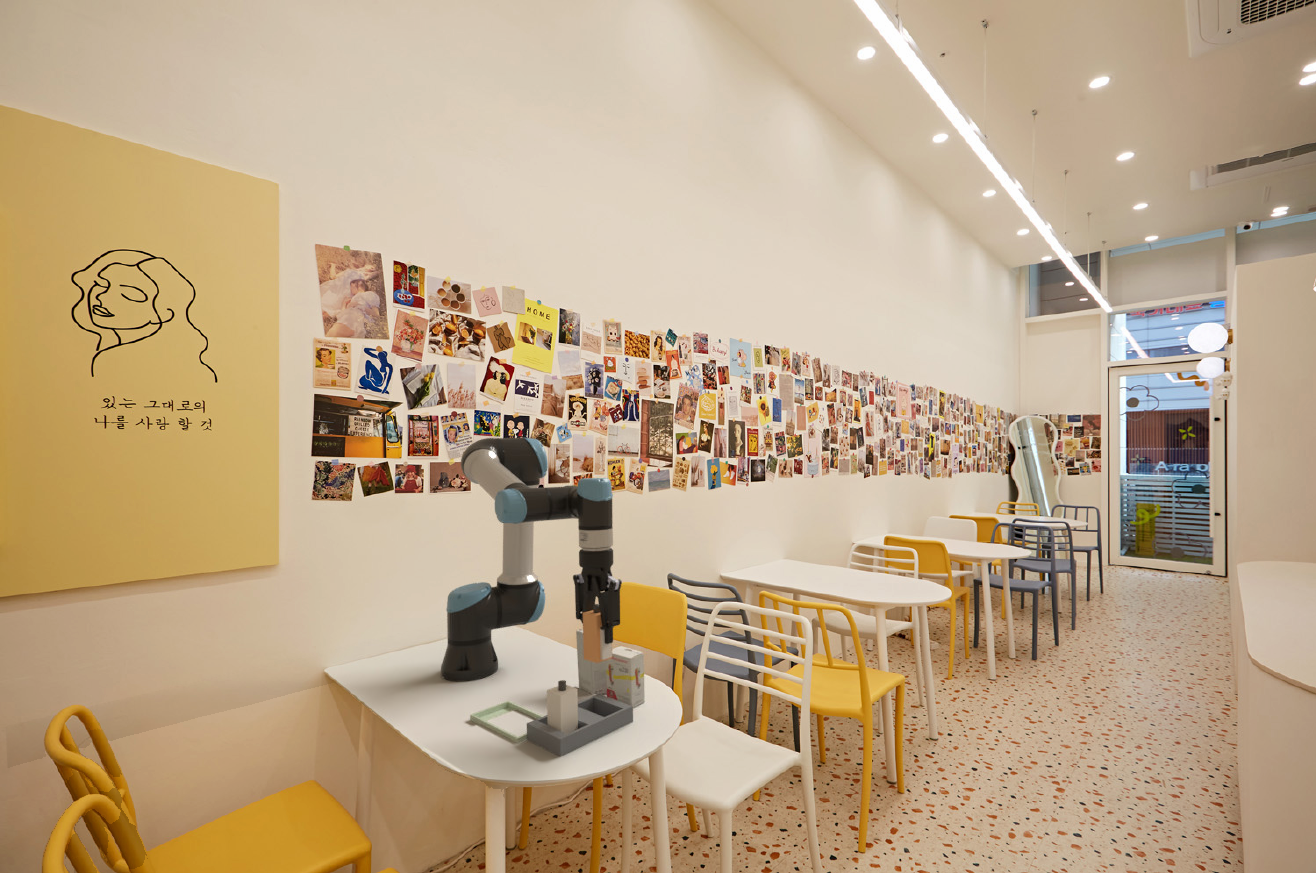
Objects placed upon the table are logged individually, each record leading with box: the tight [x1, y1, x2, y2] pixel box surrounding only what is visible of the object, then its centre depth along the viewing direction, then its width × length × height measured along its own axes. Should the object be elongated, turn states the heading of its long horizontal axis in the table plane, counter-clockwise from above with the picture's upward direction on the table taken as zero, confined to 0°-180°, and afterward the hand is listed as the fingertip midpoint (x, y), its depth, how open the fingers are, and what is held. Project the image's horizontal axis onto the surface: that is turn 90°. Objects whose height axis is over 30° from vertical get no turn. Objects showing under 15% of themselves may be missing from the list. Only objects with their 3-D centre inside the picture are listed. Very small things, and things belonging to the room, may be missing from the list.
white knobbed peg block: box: [546, 679, 579, 734], centre depth 124 cm, size 4×4×12 cm
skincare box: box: [575, 628, 607, 696], centre depth 152 cm, size 8×6×15 cm
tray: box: [469, 700, 544, 743], centre depth 132 cm, size 18×10×2 cm, turn 48°
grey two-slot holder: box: [526, 694, 634, 758], centre depth 128 cm, size 11×20×4 cm, turn 138°
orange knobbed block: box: [582, 603, 612, 663], centre depth 132 cm, size 4×4×12 cm
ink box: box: [606, 645, 646, 708], centre depth 144 cm, size 9×5×12 cm, turn 49°
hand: (598, 655), depth 132 cm, fingers closed on orange knobbed block, 4 cm apart
